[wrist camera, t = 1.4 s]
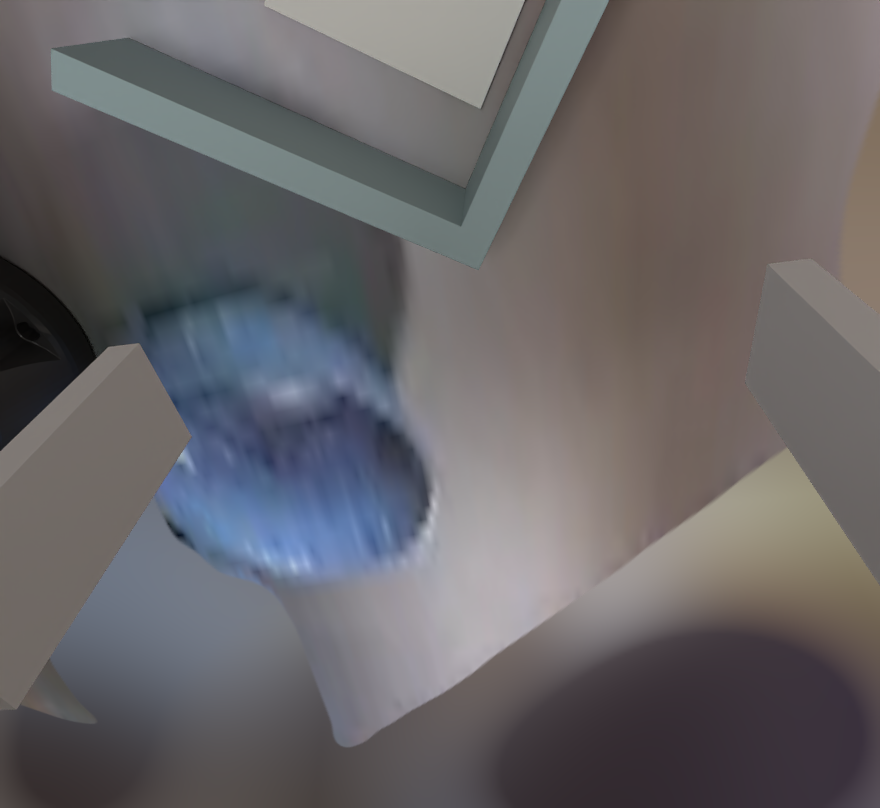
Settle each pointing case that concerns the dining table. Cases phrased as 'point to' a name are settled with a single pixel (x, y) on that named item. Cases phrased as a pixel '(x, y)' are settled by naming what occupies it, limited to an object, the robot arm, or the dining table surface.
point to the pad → (419, 36)
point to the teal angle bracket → (332, 153)
